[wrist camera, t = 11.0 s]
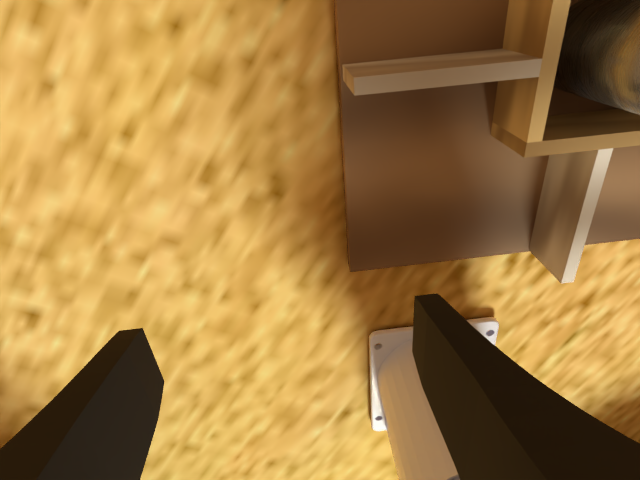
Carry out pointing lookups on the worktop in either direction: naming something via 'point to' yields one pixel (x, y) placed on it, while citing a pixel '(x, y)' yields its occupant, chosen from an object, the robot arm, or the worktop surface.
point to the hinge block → (475, 137)
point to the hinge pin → (602, 53)
